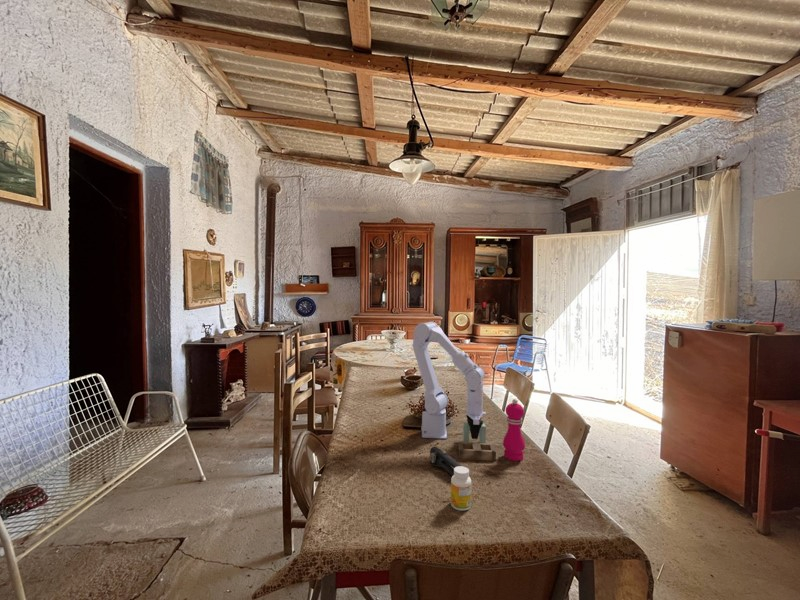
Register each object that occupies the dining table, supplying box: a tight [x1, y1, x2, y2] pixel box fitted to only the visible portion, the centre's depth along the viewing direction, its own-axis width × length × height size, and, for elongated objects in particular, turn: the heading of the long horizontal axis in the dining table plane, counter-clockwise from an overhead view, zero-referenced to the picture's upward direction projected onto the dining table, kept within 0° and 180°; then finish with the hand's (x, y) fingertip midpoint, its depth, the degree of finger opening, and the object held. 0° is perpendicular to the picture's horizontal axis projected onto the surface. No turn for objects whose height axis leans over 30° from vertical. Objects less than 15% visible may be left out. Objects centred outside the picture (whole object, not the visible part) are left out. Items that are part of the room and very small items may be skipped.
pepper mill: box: [502, 398, 526, 462], centre depth 128 cm, size 7×7×20 cm
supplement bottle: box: [450, 465, 472, 512], centre depth 100 cm, size 5×5×10 cm
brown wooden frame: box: [458, 441, 497, 462], centre depth 129 cm, size 12×6×3 cm, turn 84°
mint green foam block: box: [462, 422, 487, 443], centre depth 139 cm, size 8×3×7 cm, turn 84°
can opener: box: [429, 446, 462, 477], centre depth 118 cm, size 18×7×6 cm, turn 28°
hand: (474, 436), depth 139 cm, fingers closed on mint green foam block, 3 cm apart
